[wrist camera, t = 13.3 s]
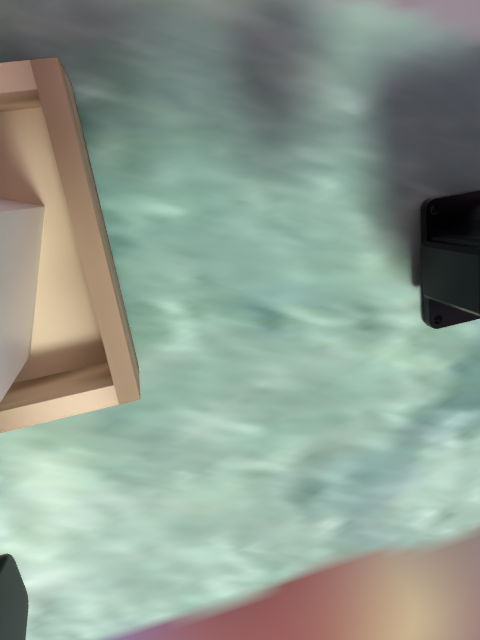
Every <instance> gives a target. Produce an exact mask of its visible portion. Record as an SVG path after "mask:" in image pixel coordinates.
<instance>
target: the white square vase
mask: <svg viewBox="0 0 480 640" xmlns="http://www.w3.org/2000/svg"><path fill="white" fill-rule="evenodd" d="M44 212H45V206H40V205H34V204H29V203H24V202H18V201H13V200H8V199H2V198H0V402H1V401H2V399H3V398H4V396H5V394H6V393H7V391H8V390H9V388H10V387H11V385H12V383H13V382H14V380H15V379H16V377H17V375H18V374H19V372H20V371H21V369H22V367H23V366H24V364H25V363H26V361H27V360H28V358H29V356H30V350H31V340H32V330H33V320H34V310H35V301H36V291H37V281H38V271H39V261H40V251H41V241H42V232H43V222H44Z"/></svg>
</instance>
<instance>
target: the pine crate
mask: <svg viewBox="0 0 480 640" xmlns="http://www.w3.org/2000/svg"><path fill="white" fill-rule="evenodd" d="M0 198H2V199H8V200H13V201H18V202H24V203H29V204H34V205H40V206H45V212H44V222H43V232H42V241H41V251H40V261H39V271H38V281H37V291H36V301H35V310H34V320H33V330H32V340H31V350H30V356H29V358H28V360H27V361H26V363H25V364H24V366H23V367H22V369H21V371H20V372H19V374H18V375H17V377H16V379H15V380H14V382H13V383H12V385H11V387H10V388H9V390H8V391H7V393H6V394H5V396H4V398H3V399H2V401H1V402H0V433H2V432H7V431H11V430H15V429H19V428H23V427H27V426H32V425H36V424H40V423H44V422H48V421H52V420H56V419H61V418H65V417H69V416H73V415H77V414H81V413H86V412H90V411H94V410H98V409H102V408H106V407H111V406H115V405H119V404H123V403H127V402H131V401H136V400H140V383H139V366H138V361H137V357H136V353H135V349H134V345H133V340H132V336H131V332H130V328H129V324H128V320H127V315H126V311H125V307H124V303H123V299H122V294H121V290H120V286H119V282H118V278H117V273H116V269H115V265H114V261H113V257H112V252H111V248H110V244H109V240H108V236H107V231H106V227H105V223H104V219H103V215H102V210H101V206H100V202H99V198H98V194H97V189H96V185H95V181H94V177H93V173H92V168H91V164H90V160H89V156H88V152H87V147H86V143H85V139H84V135H83V131H82V126H81V122H80V118H79V114H78V110H77V105H76V101H75V97H74V93H73V89H72V85H71V82H70V80H69V79H68V77H67V75H66V73H65V71H64V69H63V67H62V65H61V63H60V61H59V60H58V58H57V57H52V58H43V59H33V60H23V61H13V62H4V63H0Z"/></svg>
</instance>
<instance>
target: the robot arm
mask: <svg viewBox="0 0 480 640" xmlns="http://www.w3.org/2000/svg"><path fill="white" fill-rule="evenodd" d="M432 205H434V206H435V211H434V212H433V213H431V207H432ZM421 228H422V246H421V267H422V293H423V295H424V320H425V323H426V324H427V325H428V326H430V327H432V328H434V329H439V328H443V327H447V326H451V325H455V324H459V323H464V322H468V321H472V320H476V319H480V189H478V190H473V191H467V192H462V193H456V194H451V195H445V196H440V197H434V198H430V199H427V200H426V201H425V202H424V203H423V205H422V207H421ZM436 315H437V320H436V321H434V317H435V316H436ZM27 617H28V595H27V591H26V588H25V585H24V583H23V580H22V578H21V575H20V572H19V570H18V567H17V564H16V562H15V560H14V558H13V557H12V555H10V554H3V555H0V640H25V638H26V627H27Z"/></svg>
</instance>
